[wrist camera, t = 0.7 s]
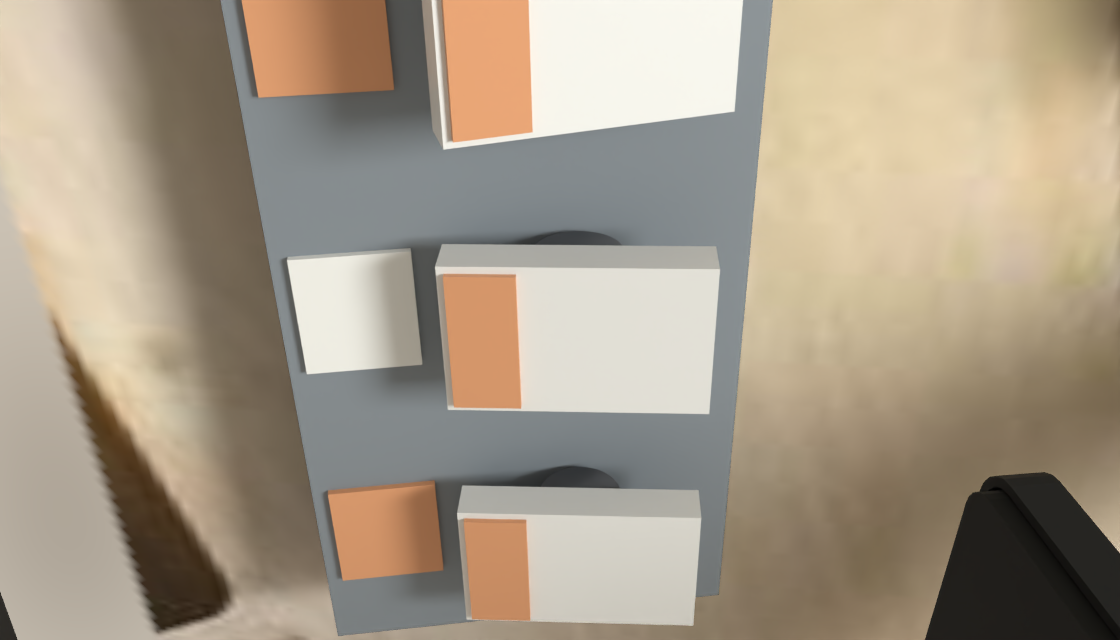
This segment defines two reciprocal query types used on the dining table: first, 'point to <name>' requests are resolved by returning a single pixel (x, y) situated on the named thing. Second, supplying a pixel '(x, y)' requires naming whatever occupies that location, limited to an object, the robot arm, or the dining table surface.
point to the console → (411, 290)
